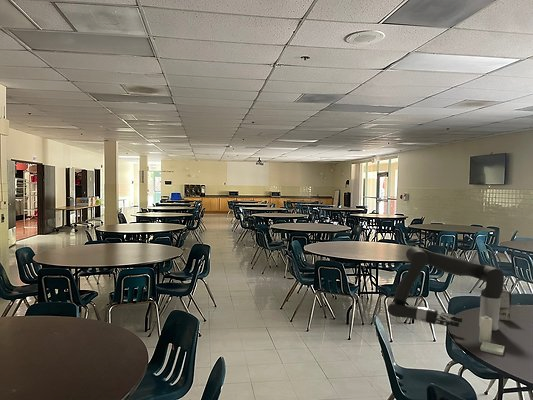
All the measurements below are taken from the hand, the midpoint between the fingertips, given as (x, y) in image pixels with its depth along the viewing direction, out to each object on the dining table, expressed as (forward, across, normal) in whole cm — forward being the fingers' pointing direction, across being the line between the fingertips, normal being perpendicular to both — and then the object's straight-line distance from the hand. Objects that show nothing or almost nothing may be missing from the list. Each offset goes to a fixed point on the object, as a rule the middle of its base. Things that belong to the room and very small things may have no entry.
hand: (460, 322), depth 201 cm
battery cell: (+11, 0, +7) cm, 13 cm away
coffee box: (+14, +50, +7) cm, 53 cm away
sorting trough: (+15, -8, +7) cm, 19 cm away
